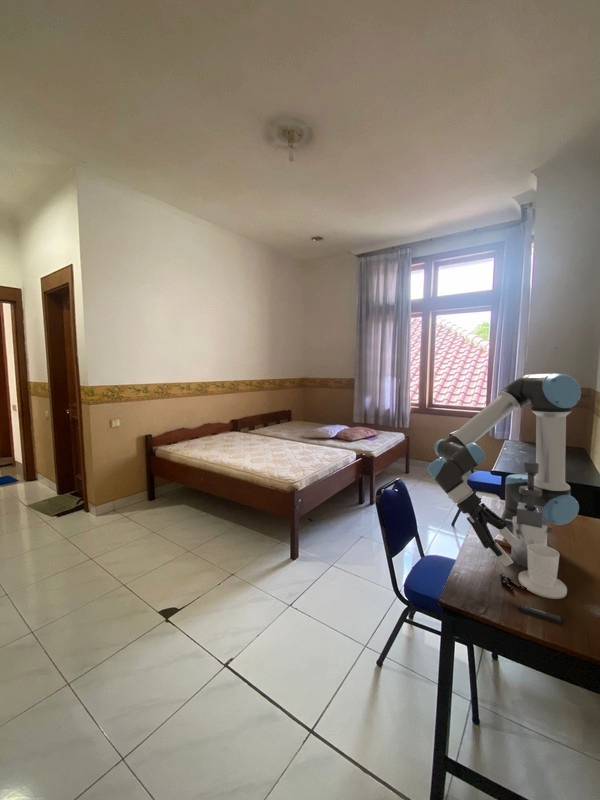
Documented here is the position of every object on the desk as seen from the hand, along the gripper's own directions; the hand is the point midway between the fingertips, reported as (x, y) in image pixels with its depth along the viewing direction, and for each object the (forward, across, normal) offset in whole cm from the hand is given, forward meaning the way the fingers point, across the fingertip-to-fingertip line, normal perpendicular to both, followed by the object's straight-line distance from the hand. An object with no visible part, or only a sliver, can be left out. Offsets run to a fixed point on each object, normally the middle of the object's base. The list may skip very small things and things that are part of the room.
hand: (513, 555), depth 105 cm
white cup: (+10, 0, +1) cm, 10 cm away
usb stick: (+12, +15, +1) cm, 19 cm away
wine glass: (-7, -14, +10) cm, 18 cm away
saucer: (+10, 0, 0) cm, 10 cm away
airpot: (+7, -14, -3) cm, 16 cm away
